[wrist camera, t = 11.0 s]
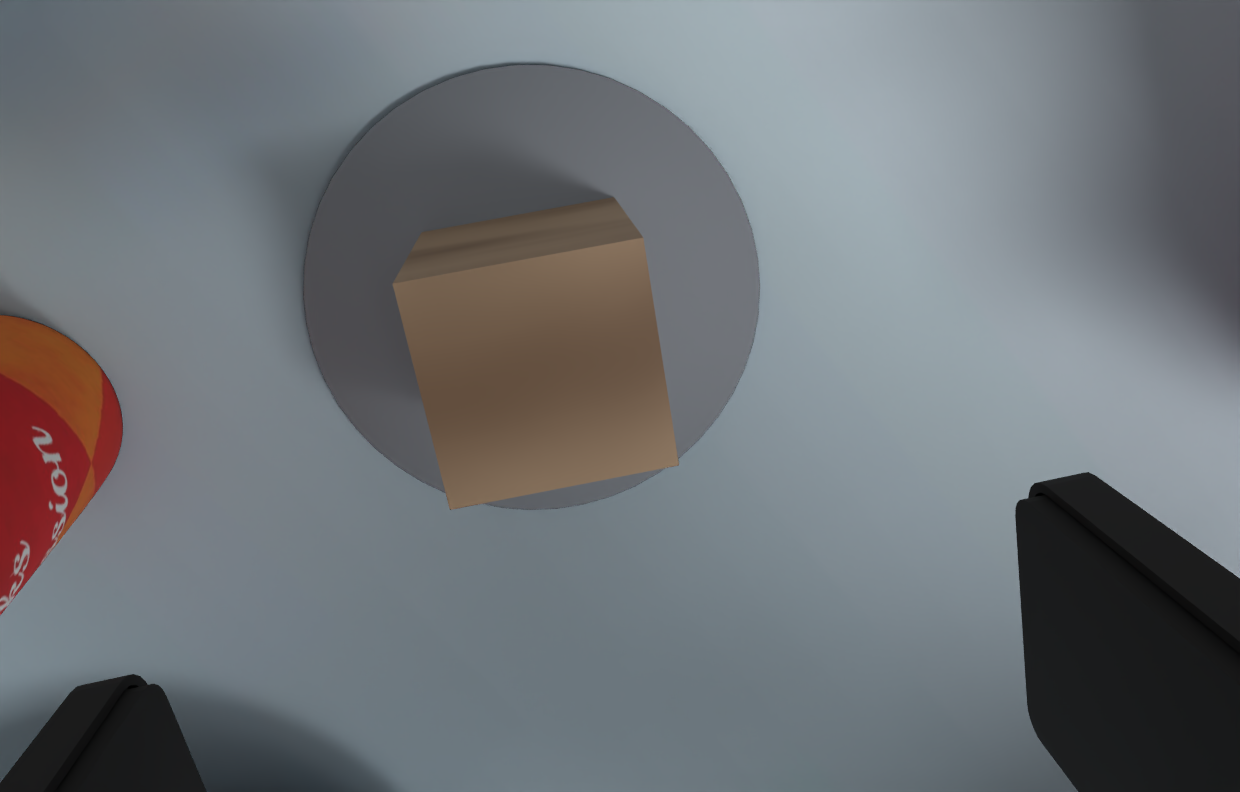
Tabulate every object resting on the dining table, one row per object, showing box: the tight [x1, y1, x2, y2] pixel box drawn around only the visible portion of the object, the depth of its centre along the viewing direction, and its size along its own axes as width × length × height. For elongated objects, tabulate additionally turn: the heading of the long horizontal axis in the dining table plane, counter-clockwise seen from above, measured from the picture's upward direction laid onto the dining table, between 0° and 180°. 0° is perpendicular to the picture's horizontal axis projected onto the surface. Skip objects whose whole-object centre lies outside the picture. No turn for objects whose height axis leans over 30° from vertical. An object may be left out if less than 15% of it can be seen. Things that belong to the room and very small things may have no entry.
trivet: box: [304, 65, 760, 510], centre depth 25 cm, size 12×12×1 cm
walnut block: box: [393, 197, 679, 510], centre depth 22 cm, size 5×5×6 cm
